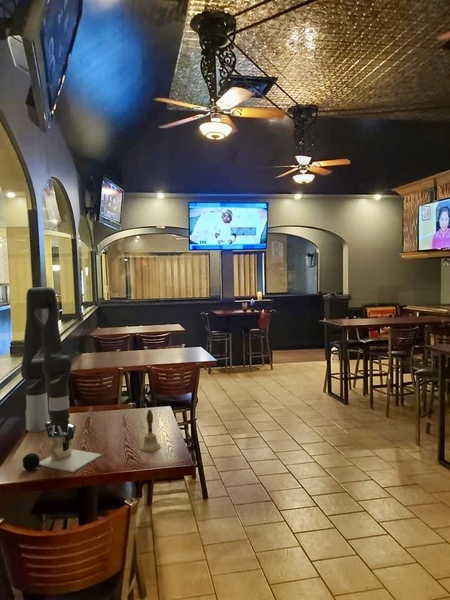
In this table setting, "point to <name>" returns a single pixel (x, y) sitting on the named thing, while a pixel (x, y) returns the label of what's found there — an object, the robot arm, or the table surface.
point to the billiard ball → (31, 461)
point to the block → (58, 448)
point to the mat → (71, 461)
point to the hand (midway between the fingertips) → (61, 449)
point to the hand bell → (150, 436)
